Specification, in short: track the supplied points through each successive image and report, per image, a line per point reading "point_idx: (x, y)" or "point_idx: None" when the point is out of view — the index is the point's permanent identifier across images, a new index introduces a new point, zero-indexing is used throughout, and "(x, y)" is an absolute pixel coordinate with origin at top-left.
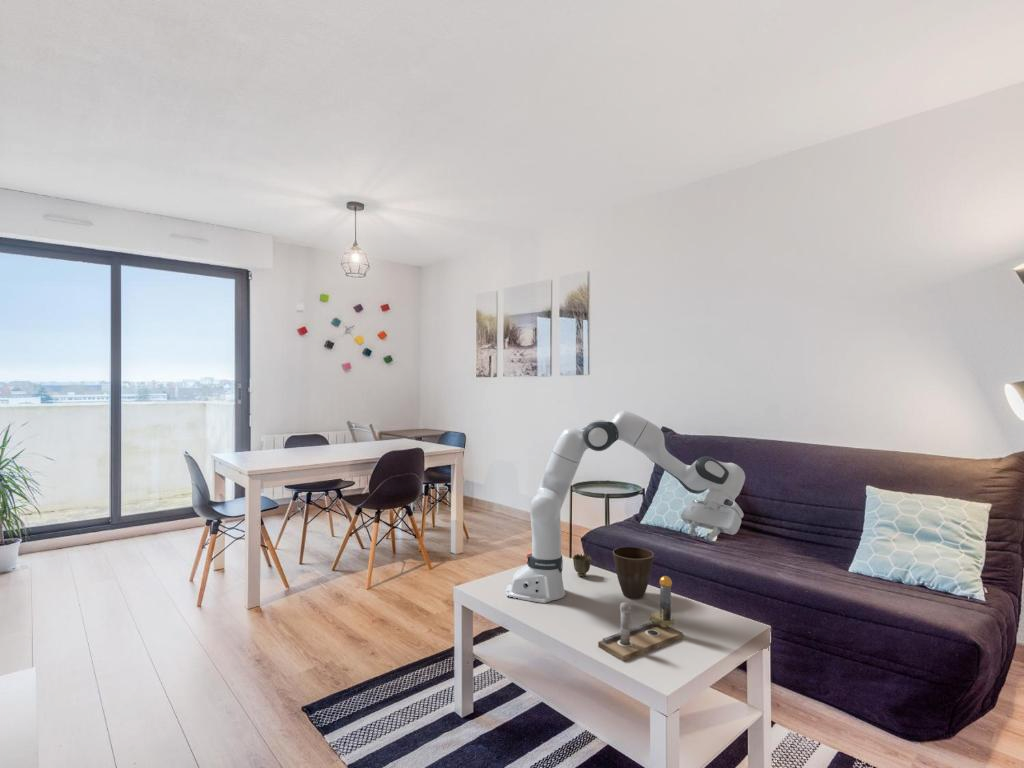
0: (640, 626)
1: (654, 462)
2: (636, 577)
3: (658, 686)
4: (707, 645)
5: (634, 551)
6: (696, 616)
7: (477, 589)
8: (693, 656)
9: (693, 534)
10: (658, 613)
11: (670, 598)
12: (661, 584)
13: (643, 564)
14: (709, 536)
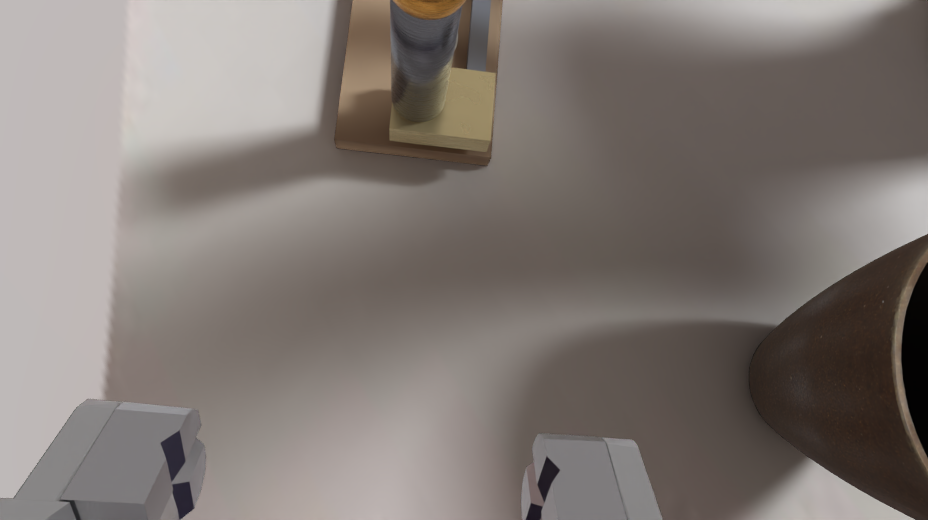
0: (482, 15)
1: None
2: (820, 301)
3: None
4: (219, 167)
5: None
6: (427, 422)
7: None
8: (212, 34)
9: (535, 458)
10: (478, 120)
11: (391, 39)
12: None
13: (862, 319)
14: (81, 420)
